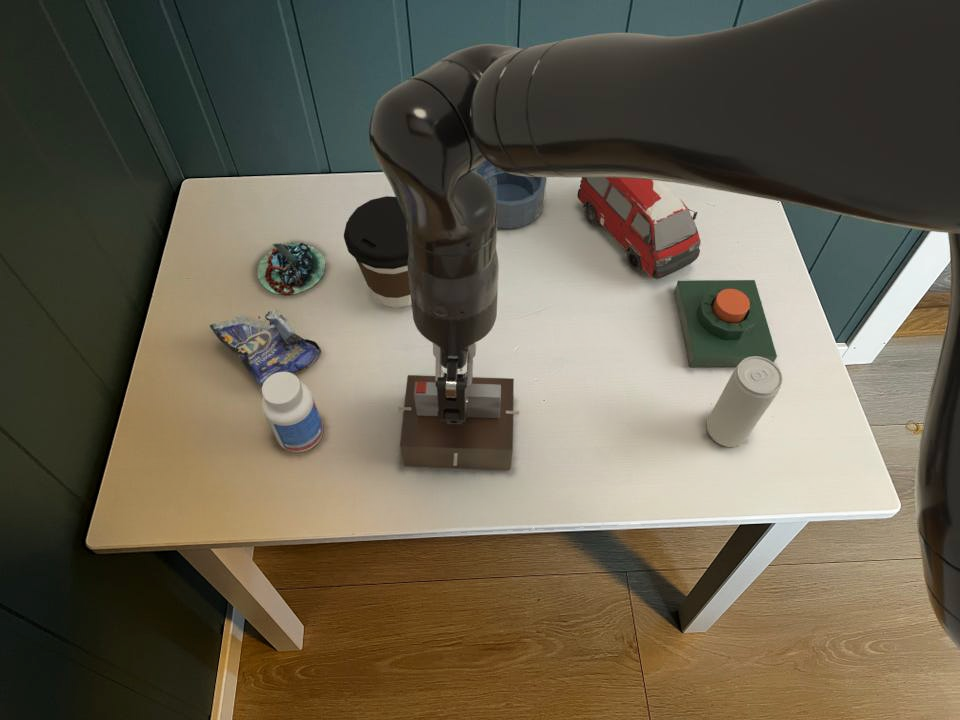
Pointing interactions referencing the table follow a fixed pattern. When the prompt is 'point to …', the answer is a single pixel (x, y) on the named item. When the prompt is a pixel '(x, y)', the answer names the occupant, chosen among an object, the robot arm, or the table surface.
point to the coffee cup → (381, 249)
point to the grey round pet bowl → (514, 195)
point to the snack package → (267, 345)
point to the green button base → (721, 325)
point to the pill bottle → (291, 412)
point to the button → (731, 305)
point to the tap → (479, 398)
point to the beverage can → (744, 400)
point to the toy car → (643, 221)
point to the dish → (291, 268)
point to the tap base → (458, 433)
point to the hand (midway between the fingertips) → (457, 383)
